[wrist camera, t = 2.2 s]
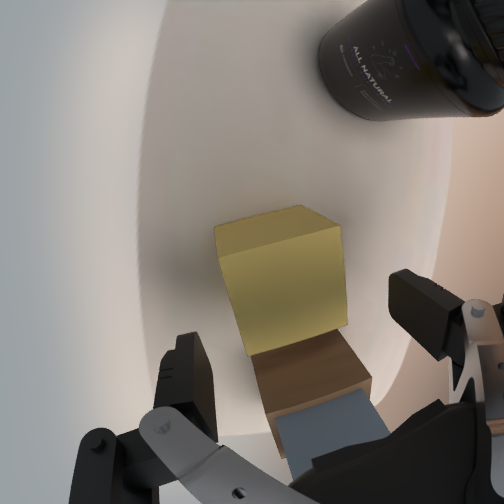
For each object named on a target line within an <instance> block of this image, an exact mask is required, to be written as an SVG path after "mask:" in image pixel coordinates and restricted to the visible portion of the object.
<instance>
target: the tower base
mask: <svg viewBox="0 0 504 504" xmlns="http://www.w3.org/2000/svg"><path fill="white" fill-rule="evenodd" d="M251 359H252V363H253V367H254V371H255V375H256V379H257V383H258V387H259V391H260V395H261V399H262V403H263V406H264V410H265V414H266V417H267V420H268V423H269V426H270V428H271V431H272V434H273V437H274V440H275V442H276V445H277V448H278V450H279V453H280V456H281V459H283V458H286V455H285V451H284V448H283V445H282V441H281V438H280V435H279V431H278V428H277V424H276V421H275V418H277V417H280V416H284V415H287V414H291V413H294V412H297V411H301V410H304V409H307V408H310V407H313V406H316V405H319V404H322V403H324V402H327V401H330V400H333V399H335V398H338V397H341V396H343V395H346V394H348V393H351V392H353V391H356V390H358V389H360V388H362V389H363V390H364V392H365V394H366V395H367V397H368V398H369V400H370V392H371V383H372V376H371V375H370V374H369V372H368V371H367V369H366V368H365V367H364V365H363V364H362V362H361V361H360V360H359V358H358V357H357V355H356V354H355V353H354V351H353V350H352V348H351V347H350V346H349V344H348V343H347V342H346V340H345V339H344V337H343V336H342V335H341V333H340V332H339V331H338V329H334V330H331V331H329V332H326V333H323V334H320V335H317V336H314V337H311V338H308V339H305V340H302V341H298V342H295V343H292V344H289V345H285V346H282V347H279V348H275V349H272V350H268V351H265V352H261V353H257V354H254V355H251Z"/></svg>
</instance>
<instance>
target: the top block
mask: <svg viewBox="0 0 504 504" xmlns="http://www.w3.org/2000/svg"><path fill="white" fill-rule="evenodd" d="M214 231H215V239H216V248H217V256H218V260H219V264H220V267H221V271H222V274H223V278H224V281H225V285H226V288H227V291H228V295H229V298H230V301H231V305H232V308H233V311H234V315H235V318H236V321H237V324H238V328H239V331H240V334H241V337H242V340H243V344H244V347H245V350H246V353H247V356H250V355H254V354H257V353H261V352H265V351H268V350H272V349H275V348H279V347H282V346H285V345H289V344H292V343H295V342H298V341H302V340H305V339H308V338H311V337H314V336H317V335H320V334H323V333H326V332H329V331H331V330H334V329H337V328H340V327H343V326H345V325H348V316H347V297H346V282H345V269H344V257H343V247H342V238H341V229H340V225H338V224H336V223H334V222H333V221H331V220H329V219H327V218H325V217H323V216H322V215H320V214H318V213H316V212H314V211H312V210H310V209H308V208H306V207H304V206H303V205H298V206H294V207H290V208H286V209H282V210H278V211H273V212H269V213H265V214H261V215H257V216H253V217H249V218H245V219H241V220H238V221H234V222H230V223H226V224H222V225H218V226H215V227H214Z"/></svg>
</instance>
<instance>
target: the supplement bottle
mask: <svg viewBox="0 0 504 504" xmlns="http://www.w3.org/2000/svg"><path fill="white" fill-rule="evenodd" d="M319 63H320V69H321V72H322V75H323V78H324V80H325V82H326V84H327V86H328V88H329V89H330V91H331V92H332V94H333V95H334V96H335V97H336V98H337V100H338V101H339V102H340V103H341V104H342V105H344V106H345V107H346V108H347V109H349V110H350V111H351V112H353V113H355V114H357V115H358V116H361V117H363V118H366V119H369V120H375V121H389V120H403V119H417V118H439V117H489V116H493V115H495V114H497V113H498V112H500V111H501V110H502V109H503V108H504V0H367V1H366V2H364V3H363V4H362V5H360V6H359V7H358V8H356V9H355V10H354V11H352V12H351V13H350V14H348V15H347V16H346V17H345V18H343V19H342V20H341V21H340V22H338V23H337V24H336V25H335V26H334V27H333V28H331V29H330V30H329V31H328V33H327V34H326V35H325V36H324V38H323V40H322V42H321V45H320V50H319Z"/></svg>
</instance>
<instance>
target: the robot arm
mask: <svg viewBox="0 0 504 504" xmlns="http://www.w3.org/2000/svg"><path fill="white" fill-rule="evenodd" d="M388 308H389V312H390V315H391V317H392V318H393V319H394V320H395V321H396V322H397V323H398V324H399V325H400V326H401V327H402V328H403V329H404V330H406V331H407V332H408V333H409V334H410V335H411V336H412V337H413V338H414V339H415V340H416V341H417V342H418V343H419V344H420V345H421V346H422V347H424V348H425V349H426V350H427V351H428V352H429V353H430V354H431V355H432V356H433V357H434V358H435V359H436V360H437V361H440V360H442V359H443V358H445V357H446V356H449V357H450V361H449V386H450V399H449V404H448V405H444V404H443V403H442V402H441V401H440V399H437V400H436V401H434V402H433V403H431V404H429V405H428V406H426V407H425V408H423V409H421V410H420V411H418V412H416V413H415V414H413V415H412V416H411V417H409V418H408V419H407V420H406V421H405V422H404V423H403V424H402V425H400V426H399V427H398V428H397V429H396V430H395V431H393V432H392V433H391V434H390V435H388V436H387V437H385V438H382V439H378V440H374V441H369V442H365V443H360V444H355V445H350V446H346V447H343V448H341V449H338V450H335V451H333V452H330V453H327V454H324V455H321V456H318V457H315V458H312V459H311V462H312V468H311V469H309V470H307V471H306V472H304V473H303V474H301V475H300V476H298V477H297V478H296V479H295V480H294V481H293V482H291V483H290V484H289V485H288V486H286V485H284V484H283V483H281V482H279V481H278V480H276V479H274V478H273V477H271V476H270V475H268V474H266V473H265V472H263V471H262V470H260V469H259V468H257V467H256V466H254V465H253V464H251V463H250V462H248V461H247V460H245V459H244V458H243V457H241V456H240V455H238V454H237V453H236V452H234V451H233V450H231V449H230V448H228V447H227V446H225V445H222V446H219V445H218V444H216V443H217V442H218V433H217V422H216V410H215V397H214V383H213V373H212V368H211V365H210V362H209V359H208V357H207V355H206V352H205V350H204V347H203V345H202V342H201V340H200V337H199V335H198V333H197V332H196V331H195V332H191V333H187V334H182V335H178V336H177V339H176V347H175V349H174V350H169V351H167V352H166V354H165V355H164V357H163V358H162V360H161V363H160V369H159V371H160V372H159V375H158V381H157V387H156V393H155V399H154V406H153V410H151V411H149V412H148V413H147V414H145V416H144V417H143V418H142V419H141V421H140V424H139V428H137V429H135V430H132V431H129V432H126V433H124V434H120V435H118V436H116V435H115V434H114V433H113V432H112V431H111V430H109V429H107V428H96V429H93V430H91V431H89V432H88V433H87V434H86V435H85V436H84V437H83V438H82V440H81V443H80V446H79V450H78V455H77V459H76V464H75V469H74V474H73V480H72V485H71V492H70V497H69V504H160V503H159V486H161V485H164V484H167V483H170V482H173V481H176V480H179V481H180V483H181V484H182V485H183V486H184V487H185V488H186V489H187V490H188V491H189V492H190V493H191V494H192V495H193V496H194V497H195V498H197V499H198V500H199V501H200V502H201V503H202V504H504V295H503V299H502V303H500V304H496V305H493V306H491V305H490V304H489V303H488V302H486V301H483V300H480V299H472V300H468V301H466V302H465V301H463V300H462V299H460V298H459V297H457V296H455V295H454V294H452V293H451V292H449V291H447V290H446V289H443V287H441V286H440V285H437V283H435V282H433V281H432V280H430V279H428V278H425V277H421V276H418V275H416V274H415V273H413V272H411V271H410V270H408V269H403V270H400V271H398V272H395V273H392V274H391V275H390V276H389V297H388Z"/></svg>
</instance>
